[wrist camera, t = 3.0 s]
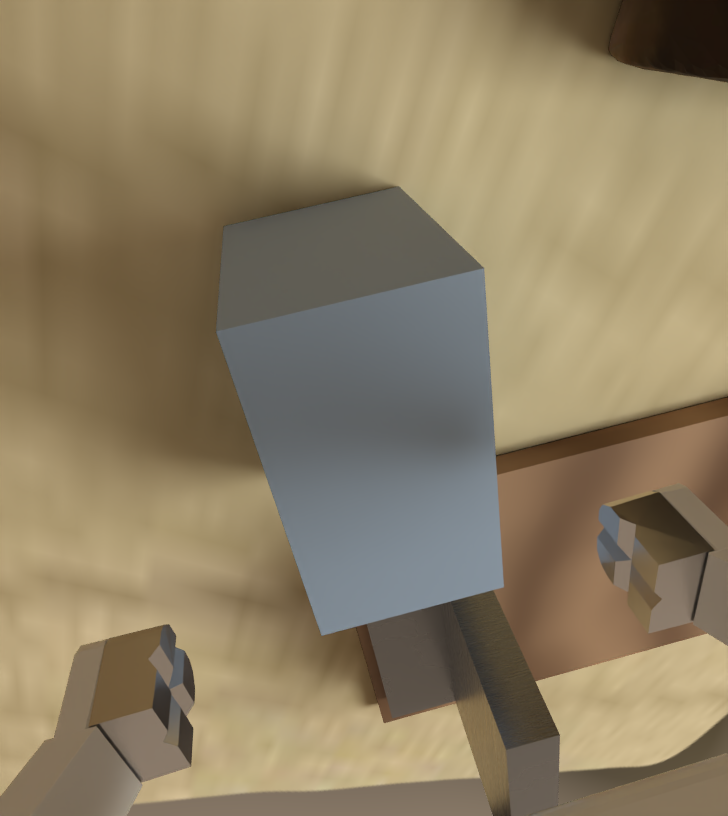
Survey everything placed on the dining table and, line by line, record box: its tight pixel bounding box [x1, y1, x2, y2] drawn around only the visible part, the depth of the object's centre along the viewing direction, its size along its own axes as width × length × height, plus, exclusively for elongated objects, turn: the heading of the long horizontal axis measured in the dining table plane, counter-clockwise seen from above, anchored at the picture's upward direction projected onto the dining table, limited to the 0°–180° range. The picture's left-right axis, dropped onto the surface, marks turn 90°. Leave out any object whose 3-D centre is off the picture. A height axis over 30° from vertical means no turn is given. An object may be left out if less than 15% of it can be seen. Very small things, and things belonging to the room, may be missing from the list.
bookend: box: [367, 590, 560, 816], centre depth 22 cm, size 4×10×8 cm, turn 10°
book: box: [216, 187, 504, 636], centre depth 16 cm, size 5×9×7 cm, turn 10°
